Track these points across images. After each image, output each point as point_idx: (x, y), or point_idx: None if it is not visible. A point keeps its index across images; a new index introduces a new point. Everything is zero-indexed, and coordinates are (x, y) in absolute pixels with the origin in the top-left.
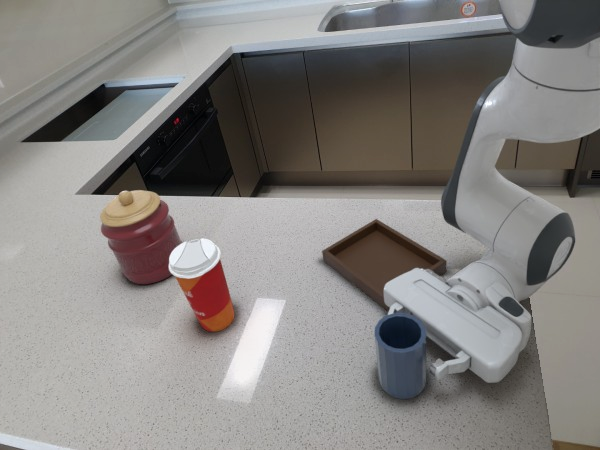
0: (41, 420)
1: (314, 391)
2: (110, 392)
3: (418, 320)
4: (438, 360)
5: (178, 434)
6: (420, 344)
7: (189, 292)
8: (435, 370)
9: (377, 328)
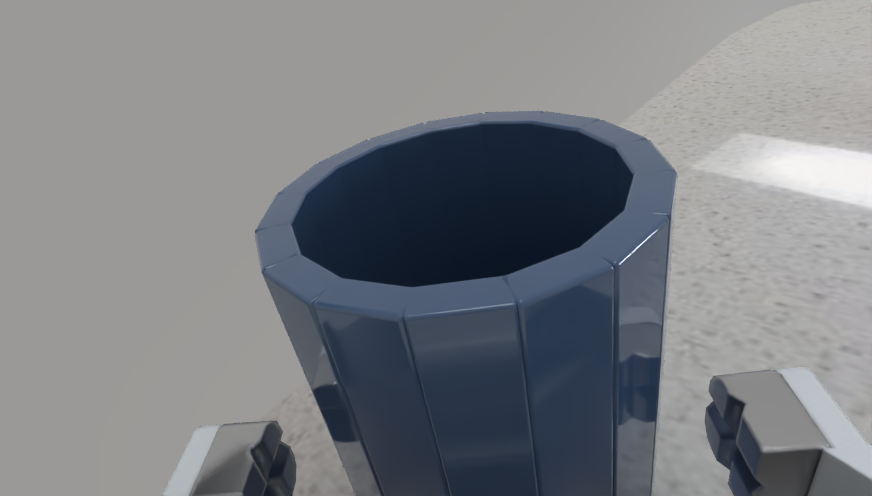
0: (794, 17)
1: None
2: (831, 47)
3: (436, 308)
4: (236, 479)
5: (670, 101)
6: (265, 225)
7: None
8: (228, 425)
9: (581, 123)
